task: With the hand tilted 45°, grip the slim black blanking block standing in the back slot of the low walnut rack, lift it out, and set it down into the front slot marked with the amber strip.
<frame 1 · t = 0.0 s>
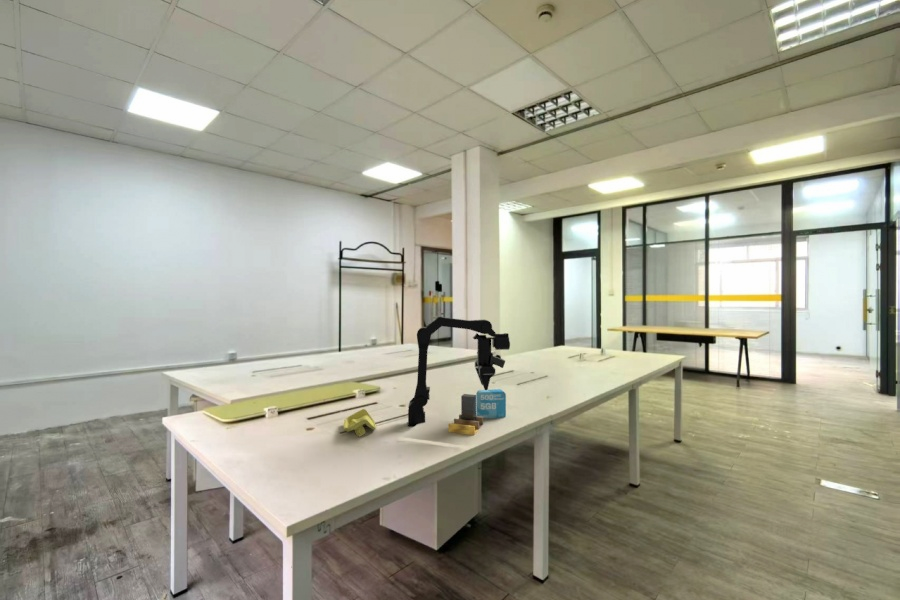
hand: (484, 387, 157), 15 cm above the table, tool pointing down, fingers open, 9 cm apart
blanking block: (468, 425, 150), point 1 cm above the table, touching rack
rack: (466, 430, 147), on the table
plastic component: (358, 431, 147), on the table
data package: (491, 419, 163), on the table
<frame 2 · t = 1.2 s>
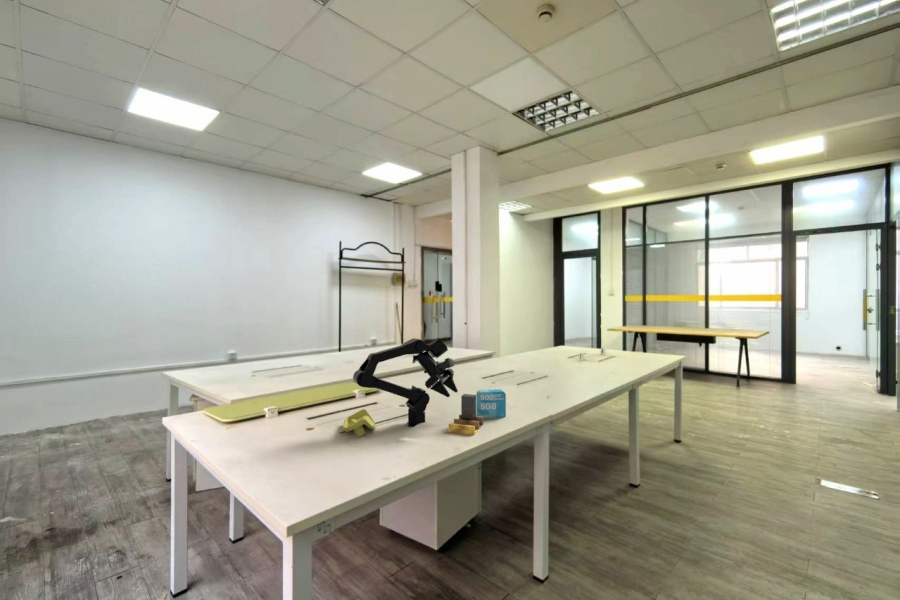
hand: (453, 394, 152), 13 cm above the table, tool tilted 45°, fingers open, 9 cm apart
nothing on the table moved.
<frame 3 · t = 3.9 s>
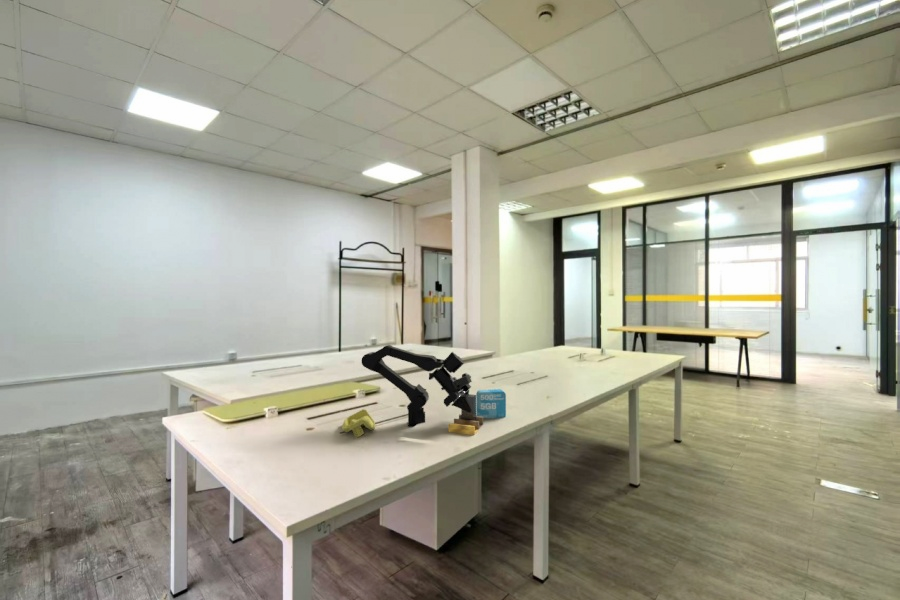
hand: (472, 410, 150), 7 cm above the table, tool tilted 45°, fingers closed on blanking block, 3 cm apart
blanking block: (468, 425, 150), point 1 cm above the table, touching gripper, rack
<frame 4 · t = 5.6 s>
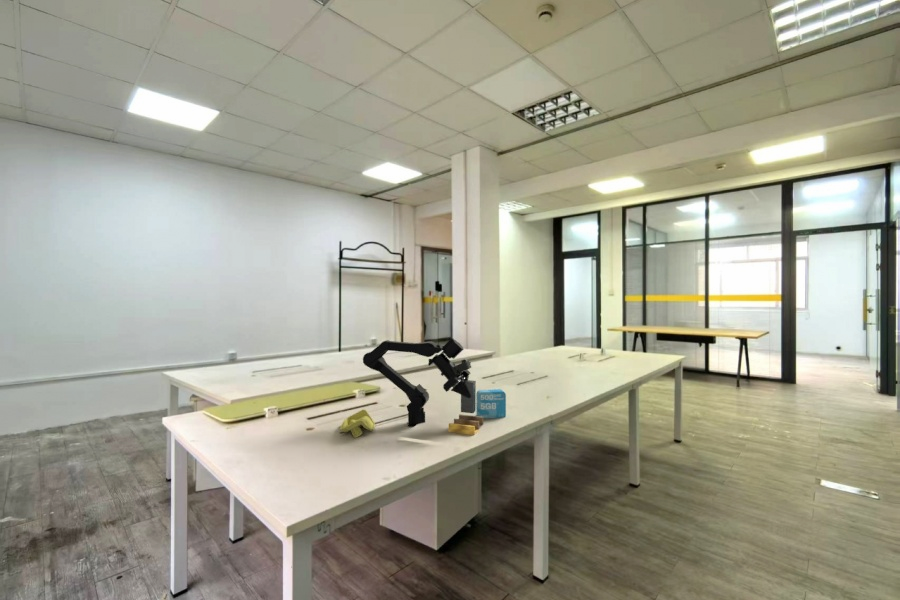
hand: (471, 396, 149), 13 cm above the table, tool tilted 45°, fingers closed on blanking block, 3 cm apart
blanking block: (468, 411, 150), point 7 cm above the table, touching gripper
when the fingers open (8 cm above the table, at t = 7.5 s): blanking block stays where it is, resting on rack.
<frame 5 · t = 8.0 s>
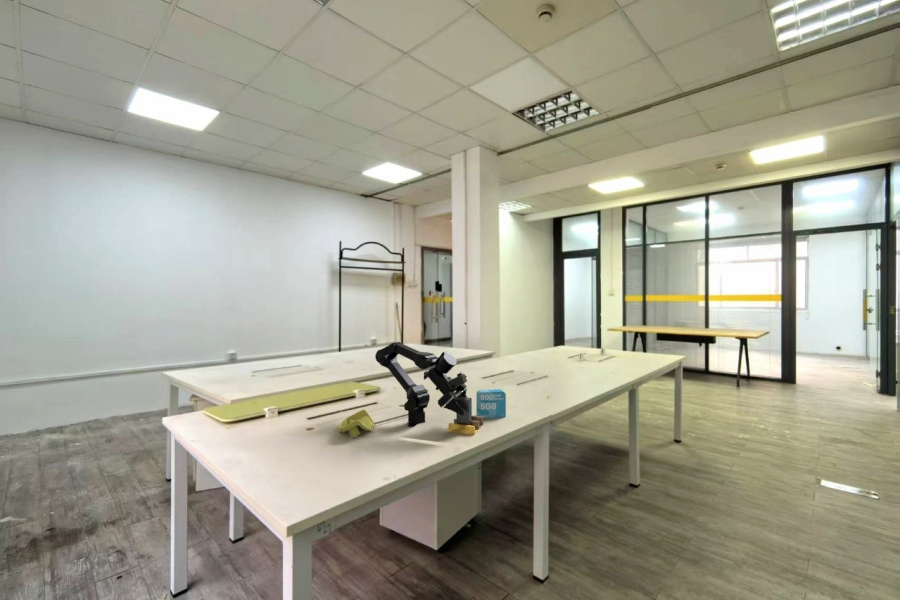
hand: (467, 411, 144), 8 cm above the table, tool tilted 45°, fingers open, 9 cm apart
blanking block: (464, 429, 144), point 1 cm above the table, touching rack
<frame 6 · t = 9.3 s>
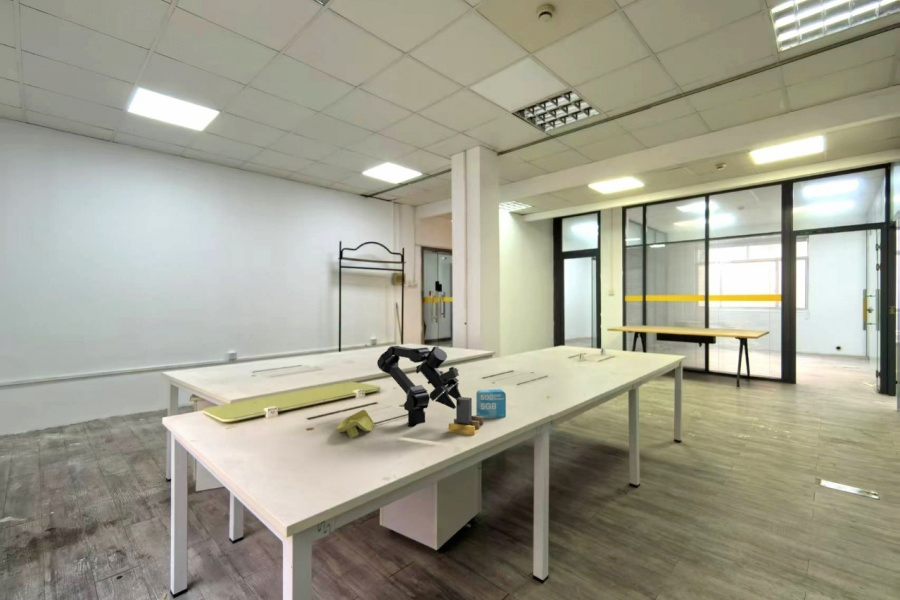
hand: (459, 405, 145), 10 cm above the table, tool tilted 45°, fingers open, 9 cm apart
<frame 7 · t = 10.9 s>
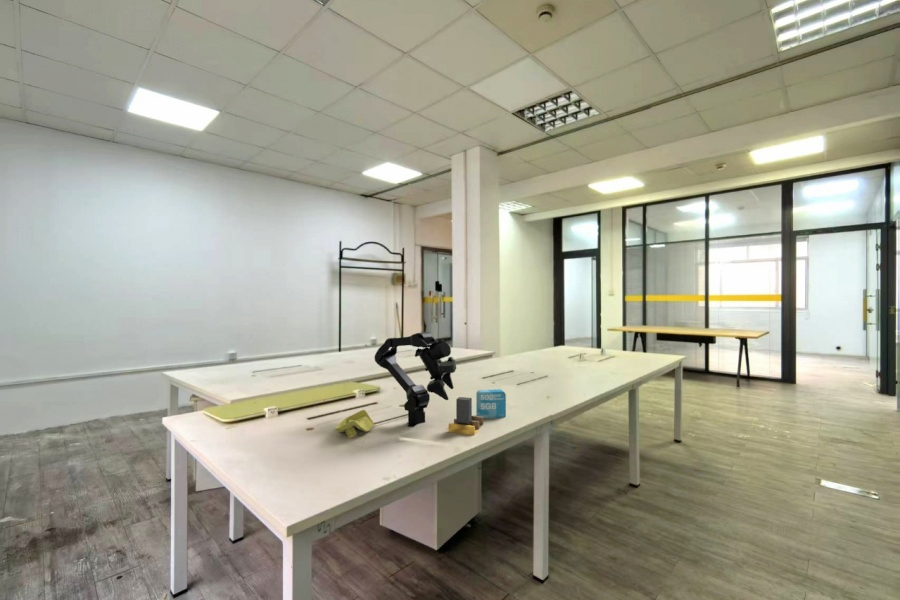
hand: (450, 394, 154), 13 cm above the table, tool tilted 30°, fingers open, 9 cm apart
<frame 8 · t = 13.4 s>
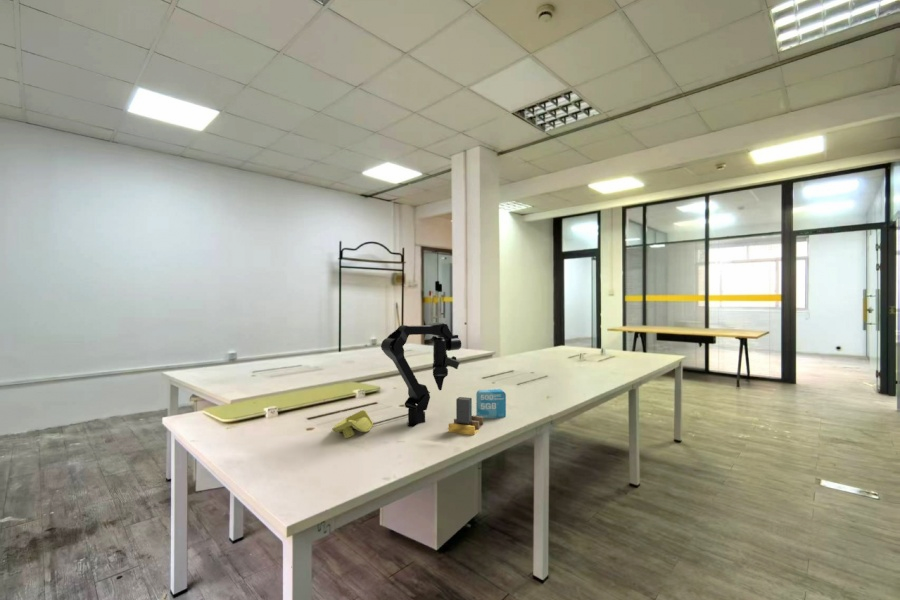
hand: (439, 387, 164), 13 cm above the table, tool pointing down, fingers open, 9 cm apart
at the end: blanking block 0.1 cm from the target spot on the rack, point 1.2 cm above the rack's base; blanking block tilted 0°; the gripper is holding nothing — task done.
